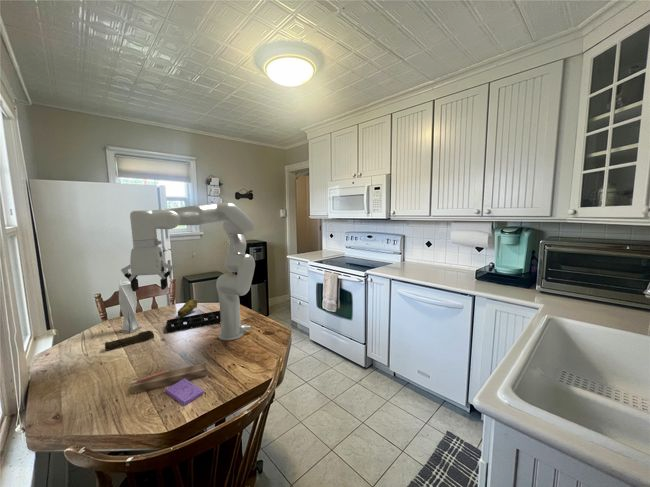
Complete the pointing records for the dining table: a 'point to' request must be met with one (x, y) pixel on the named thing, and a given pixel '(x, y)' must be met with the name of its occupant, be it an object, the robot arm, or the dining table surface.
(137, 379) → the carpenters pencil
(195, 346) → the dining table surface
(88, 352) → the dining table surface
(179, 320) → the black openwork frame
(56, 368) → the dining table surface
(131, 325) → the skyscraper
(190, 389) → the sponges
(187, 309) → the potato
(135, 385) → the walnut board
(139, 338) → the hand tool
